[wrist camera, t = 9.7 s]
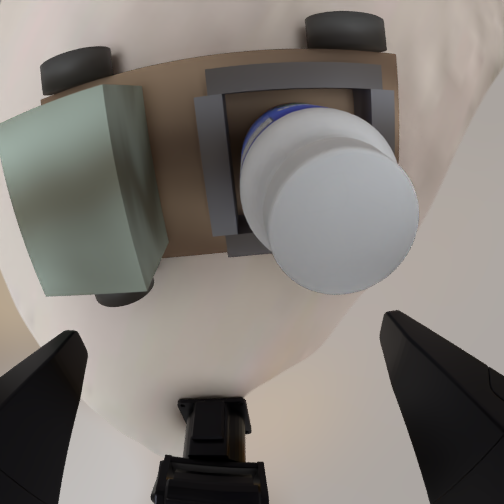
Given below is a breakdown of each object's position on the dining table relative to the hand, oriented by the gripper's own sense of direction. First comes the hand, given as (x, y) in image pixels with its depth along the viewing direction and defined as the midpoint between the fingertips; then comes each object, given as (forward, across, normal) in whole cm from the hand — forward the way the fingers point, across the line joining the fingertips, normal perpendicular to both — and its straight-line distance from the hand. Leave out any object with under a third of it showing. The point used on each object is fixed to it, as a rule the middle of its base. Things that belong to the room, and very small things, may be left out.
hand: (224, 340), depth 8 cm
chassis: (+12, 0, -3) cm, 12 cm away
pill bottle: (+10, -3, -3) cm, 11 cm away
